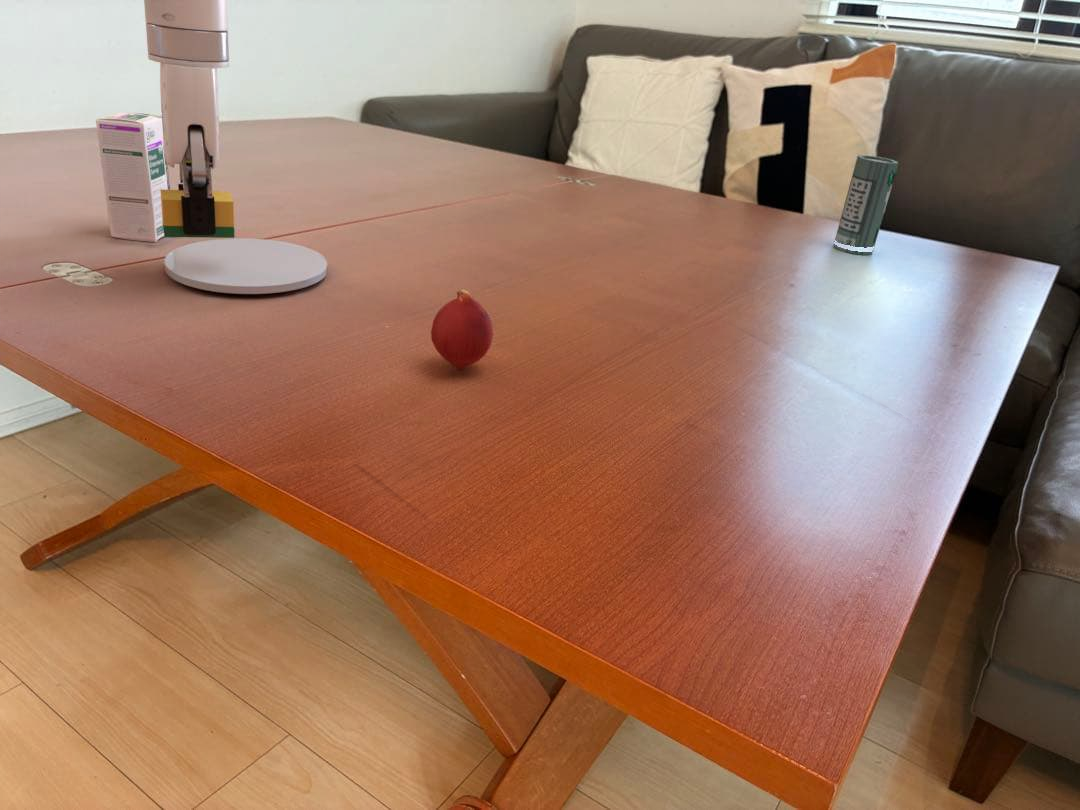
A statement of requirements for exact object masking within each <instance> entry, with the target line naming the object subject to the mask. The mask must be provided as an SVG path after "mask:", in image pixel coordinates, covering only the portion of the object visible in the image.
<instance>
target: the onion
mask: <svg viewBox="0 0 1080 810" xmlns="http://www.w3.org/2000/svg"><path fill="white" fill-rule="evenodd" d="M456 295H457V297H456V298H454V299H451V300H450V301H448V302H447V303H445V304H444V305H442V307H441V308H440V309H439V310H438V311H437V313H436V314H435V316H434V319H433V321H432V324H431V325H432V326H431V330H430V337H431V342H432V344H433V346H434V348H435V349H436V351H437V353H438V354H439V355H440V356H441V357H442V358H443V359H444V360H446V361H447V362H448V363H449V364H451V366H452V367H453V368H454V369H456V370H463V369H465V368H467V367H470V366H472V365H474V364H475V363H477V362H479V361H480V360H481V359H483V357H485V356H486V355H487V353H488V351H489V350H490V348H491V345H492V343H493V339H494V325H493V322H492V319H491V317H490V315H489V314H488V311H486V309H485V308H484V307H483V306H482V304H480V303H479V302H478V301H477V300H476V299H475V298H473V296H472V295H471V294H470V293H469V292H468V290H464V289H460V290H458V291H456Z"/></svg>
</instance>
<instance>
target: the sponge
mask: <svg viewBox="0 0 1080 810" xmlns="http://www.w3.org/2000/svg"><path fill="white" fill-rule="evenodd" d="M160 191H161V206H162V221H163V230H164V236H163V237H164V238H209V239H210V238H211V239H212V238H217V239H234V238H235V206H234V200H233V198H232V195H231V192H230V191H219V190H212V197H214V202H215V225H216V233H215V234H214V235H186V234H185V233H184V232H183V220H182V203H181V196H184V191H183V190H179V189H170V190H160Z"/></svg>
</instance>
